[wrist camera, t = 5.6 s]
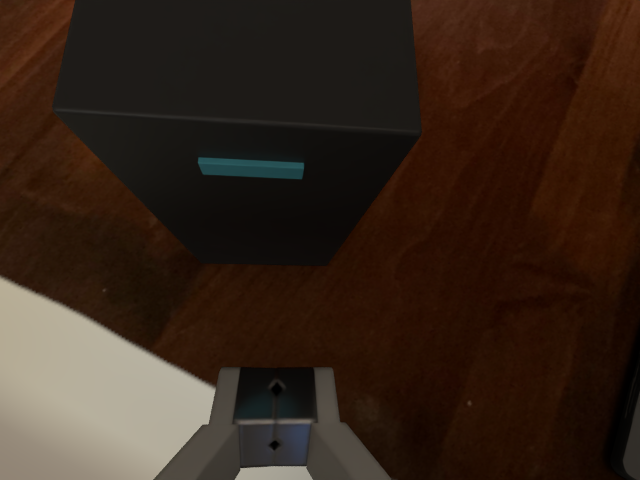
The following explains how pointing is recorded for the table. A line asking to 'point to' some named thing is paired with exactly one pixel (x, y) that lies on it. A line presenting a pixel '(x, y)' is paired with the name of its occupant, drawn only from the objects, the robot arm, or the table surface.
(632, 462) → the smartphone
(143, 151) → the black power bank
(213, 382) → the table surface
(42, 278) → the table surface
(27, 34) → the table surface
